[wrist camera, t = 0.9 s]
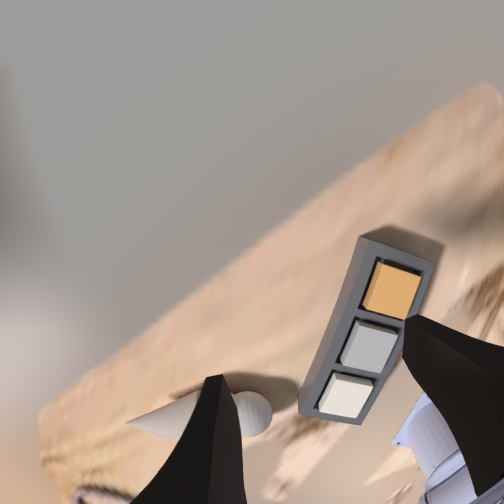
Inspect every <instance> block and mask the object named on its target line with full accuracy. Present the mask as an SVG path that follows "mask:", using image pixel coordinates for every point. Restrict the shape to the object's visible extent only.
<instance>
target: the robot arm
mask: <svg viewBox="0 0 504 504" xmlns="http://www.w3.org/2000/svg"><path fill="white" fill-rule="evenodd" d="M402 358H403V360H404V361H405V363H406V365H407V367H408V369H409V370H410V372H411V374H412V376H413V377H414V379H415V380H416V381H417V382H418V384H419V385H420V387H421V388H422V389H423V392H422V393H421V395H420V397H419V399H418V400H417V402H416V404H415V405H414V407H413V409H412V410H411V412H410V413H409V415H408V417H407V418H406V420H405V421H404V423H403V425H402V426H401V428H400V429H399V431H398V432H397V434H396V435H395V437H394V438H393V440H392V441H391V444H392V446H405V447H411V449H412V451H413V453H414V455H415V458H416V460H417V462H418V464H419V466H420V468H421V471H422V473H423V475H424V477H425V479H426V482H425V483H424V484H423V486H424V489H425V491H426V493H424V494H422V495H421V496H420V499H419V503H418V504H496V503H497V502H499V501H500V500H501V499H502V501H501V503H499V504H504V347H502V346H499V345H495V344H491V343H488V342H485V341H482V340H479V339H476V338H473V337H471V336H468V335H465V334H463V333H460V332H458V331H456V330H453V329H451V328H448V327H446V326H444V325H442V324H440V323H437V322H435V321H433V320H431V319H428V318H426V317H424V316H421V315H419V314H416V315H414V316H411V317H409V318H406V319H405V325H404V341H403V354H402ZM130 504H247V500H246V495H245V489H244V480H243V460H242V438H241V428H240V421H239V416H238V410H237V407H236V404H235V402H234V400H233V398H232V395H231V393H230V390H229V388H228V386H227V383H226V381H225V378H224V376H223V374H220V375H215V376H210V377H207V378H206V379H205V381H204V384H203V387H202V389H201V392H200V395H199V398H198V400H197V403H196V405H195V408H194V410H193V412H192V414H191V417H190V419H189V421H188V423H187V425H186V427H185V429H184V431H183V433H182V435H181V437H180V439H179V441H178V443H177V444H176V446H175V448H174V449H173V451H172V453H171V454H170V456H169V457H168V459H167V460H166V462H165V463H164V465H163V466H162V467H161V469H160V470H159V471H158V473H157V474H156V475H155V477H154V478H153V479H152V480H151V482H150V483H149V484H148V485H147V486H146V487H145V488H144V489H143V490H142V491H141V492H140V493H139V495H138V496H137V497H136V498H135V499H134V500H133V501H132V502H131V503H130Z"/></svg>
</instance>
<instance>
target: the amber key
mask: <svg viewBox="0 0 504 504" xmlns="http://www.w3.org/2000/svg"><path fill="white" fill-rule="evenodd" d="M420 279H421V277H420V276H418V275H416V274H413V273H410V272H407V271H404V270H402V269H399V268H396V267H393V266H390V265H387V264H384V263H381V262H378V263H377V266H376V269H375V272H374V274H373V277H372V280H371V283H370V286H369V288H368V291H367V294H366V297H365V299H364V302H363V306H364V307H365V308H366V309H368V310H371V311H375V312H379V313H382V314H386V315H389V316H393V317H396V318H400V319H404V320H405V318H406V316H407V314H408V311H409V309H410V306H411V303H412V301H413V298H414V296H415V293H416V290H417V287H418V285H419V282H420Z"/></svg>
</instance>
